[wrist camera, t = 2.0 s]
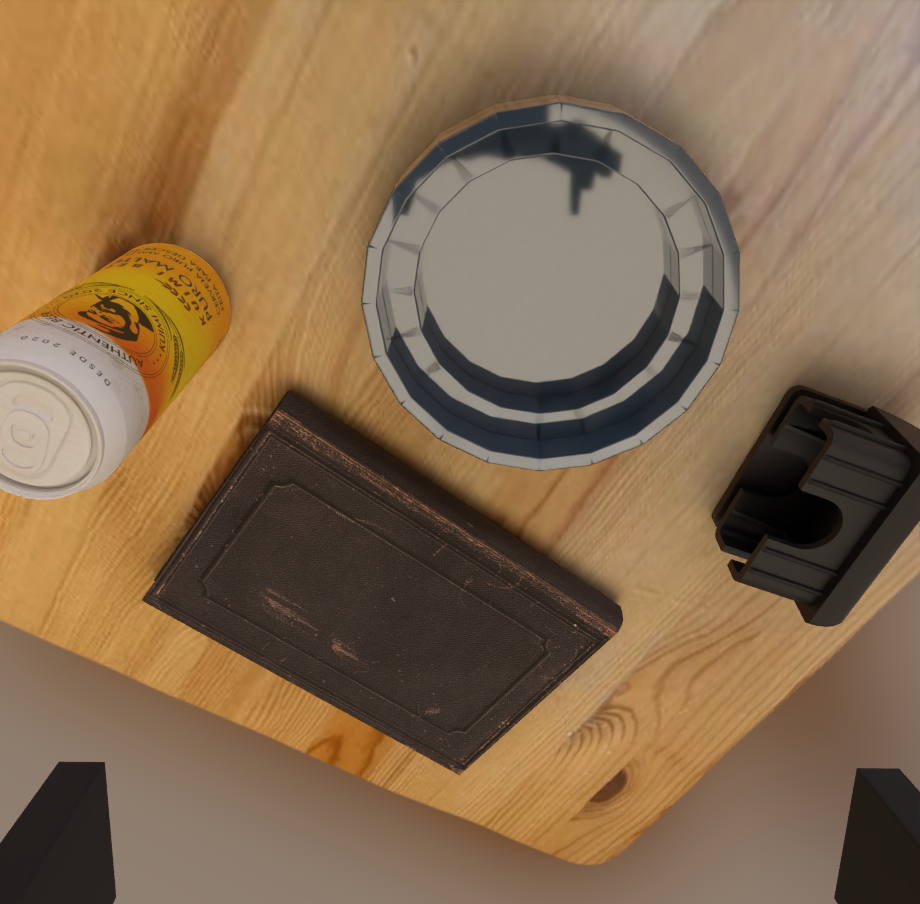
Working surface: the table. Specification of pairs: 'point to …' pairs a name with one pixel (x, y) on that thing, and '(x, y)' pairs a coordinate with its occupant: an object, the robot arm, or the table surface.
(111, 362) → the beer can
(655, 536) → the table surface
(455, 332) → the bowl
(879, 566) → the end cap
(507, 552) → the hardcover book
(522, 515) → the table surface
